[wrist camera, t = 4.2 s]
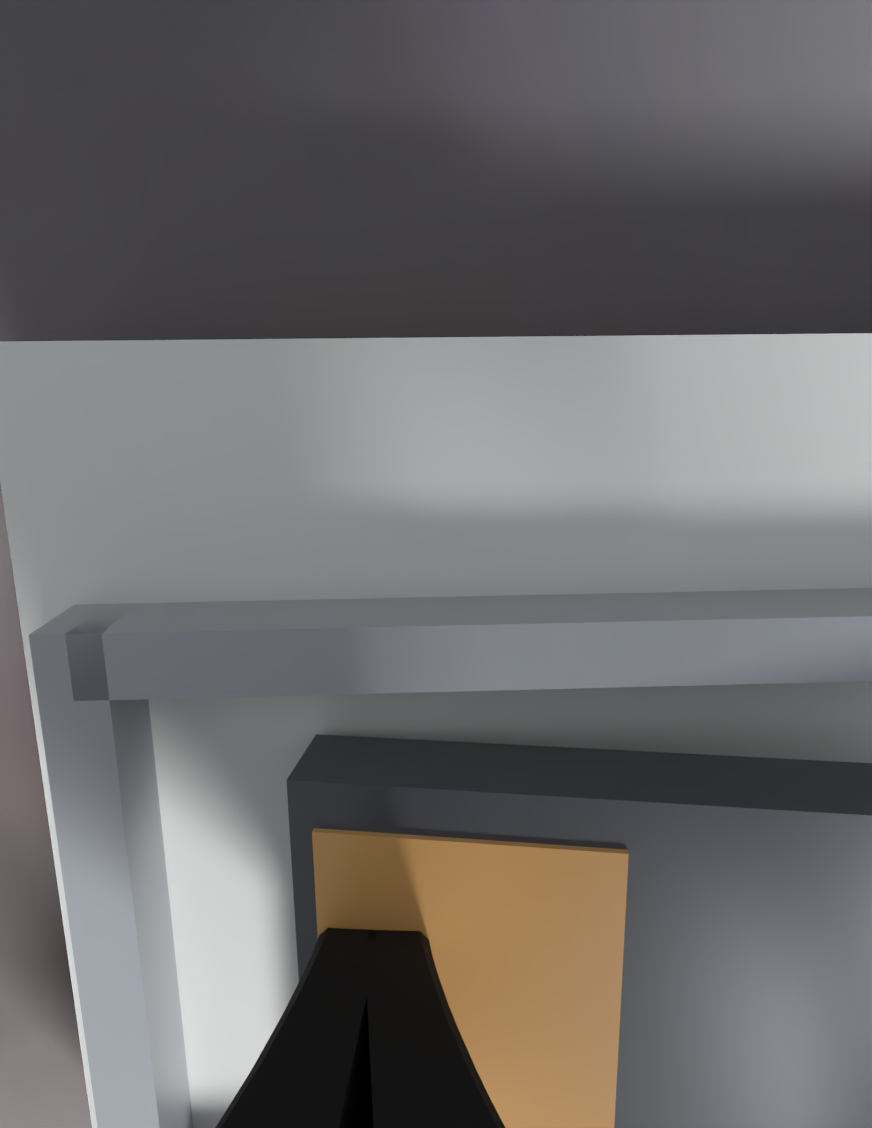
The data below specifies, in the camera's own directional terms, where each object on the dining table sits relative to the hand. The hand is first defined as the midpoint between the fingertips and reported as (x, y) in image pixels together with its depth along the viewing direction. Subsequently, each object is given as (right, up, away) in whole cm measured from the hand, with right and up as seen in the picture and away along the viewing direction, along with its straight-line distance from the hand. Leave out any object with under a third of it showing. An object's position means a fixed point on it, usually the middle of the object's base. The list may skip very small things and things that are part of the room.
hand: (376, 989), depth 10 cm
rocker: (+4, 0, 0) cm, 4 cm away
